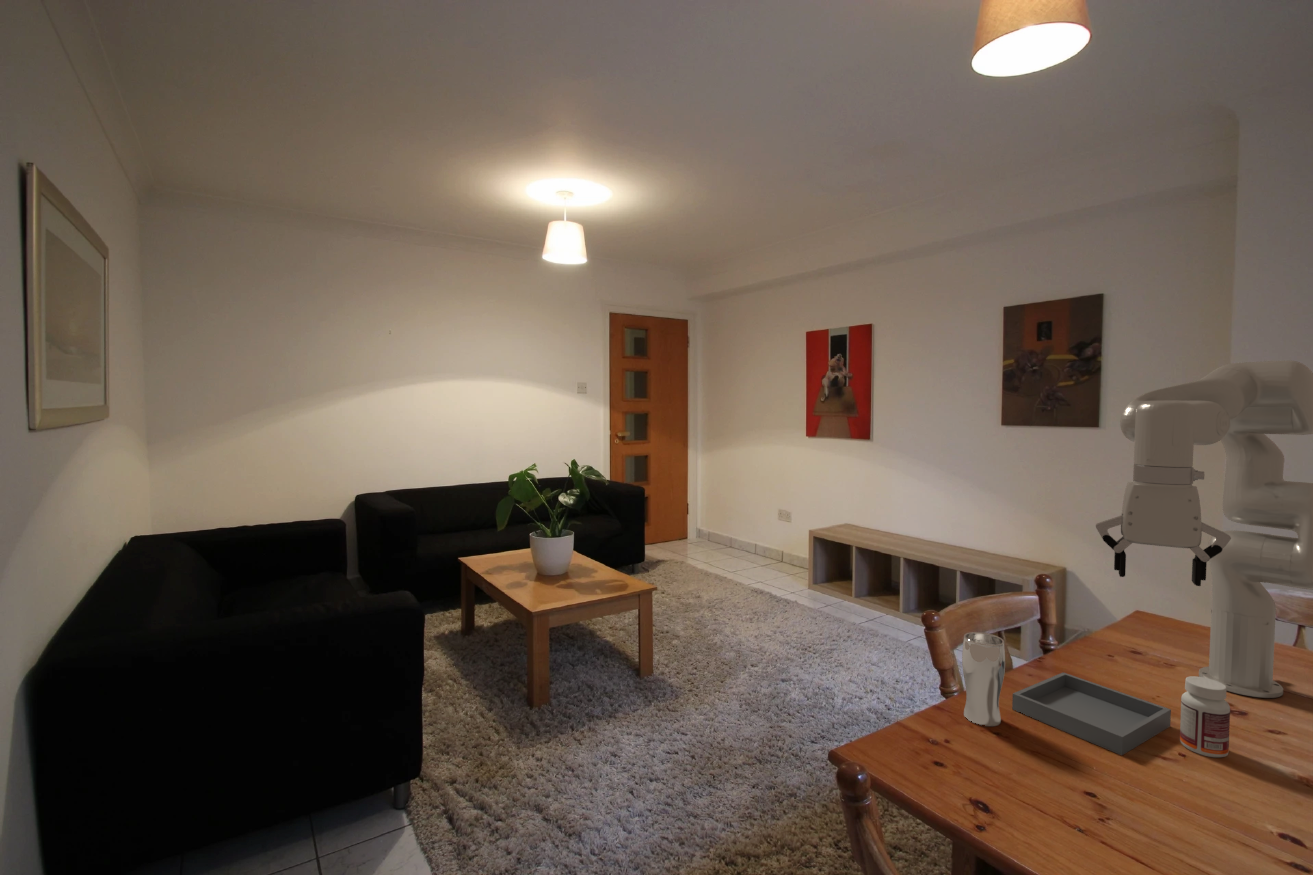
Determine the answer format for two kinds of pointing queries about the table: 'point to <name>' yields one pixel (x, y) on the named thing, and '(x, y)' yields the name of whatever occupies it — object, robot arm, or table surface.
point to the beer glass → (983, 677)
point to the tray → (1092, 712)
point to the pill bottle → (1205, 717)
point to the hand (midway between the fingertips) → (1158, 579)
